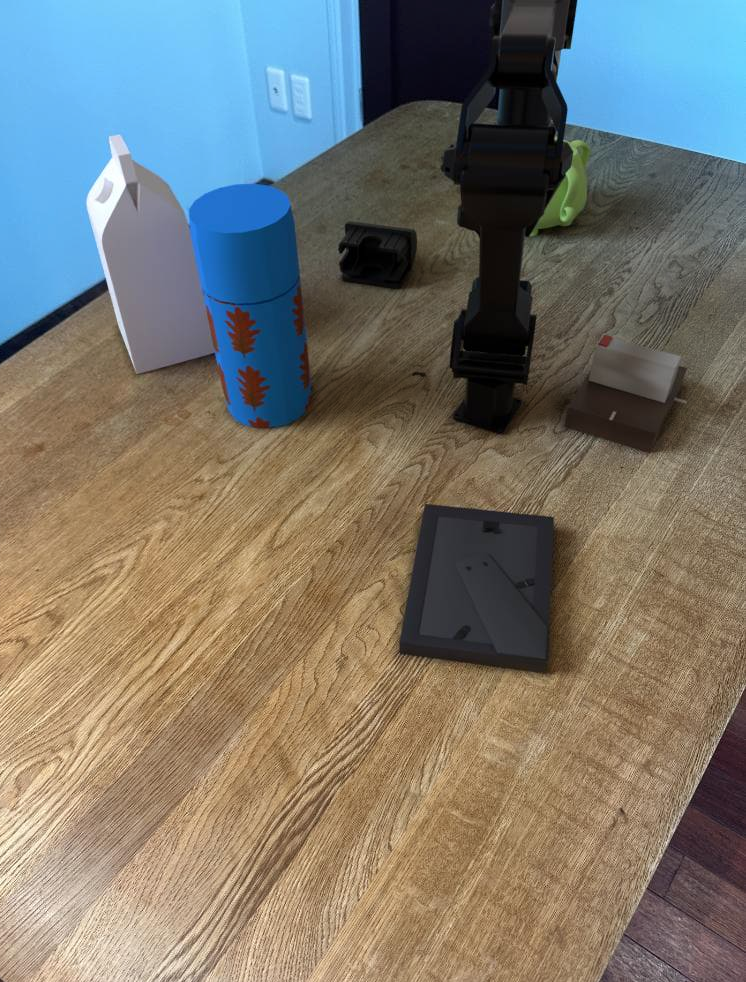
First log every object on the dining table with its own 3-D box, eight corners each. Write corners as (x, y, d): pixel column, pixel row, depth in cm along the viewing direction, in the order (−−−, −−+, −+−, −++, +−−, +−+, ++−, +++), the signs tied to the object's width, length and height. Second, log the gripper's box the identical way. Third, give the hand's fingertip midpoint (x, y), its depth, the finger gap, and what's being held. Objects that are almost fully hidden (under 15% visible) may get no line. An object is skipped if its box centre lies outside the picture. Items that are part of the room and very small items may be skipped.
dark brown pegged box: (663, 457, 91) (670, 436, 88) (550, 423, 96) (554, 402, 93) (694, 391, 98) (701, 369, 96) (588, 362, 103) (592, 341, 101)
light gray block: (670, 392, 93) (682, 354, 90) (664, 403, 92) (676, 365, 88) (594, 370, 97) (603, 333, 93) (588, 380, 96) (596, 343, 92)
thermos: (300, 433, 97) (276, 236, 78) (215, 425, 99) (172, 231, 80) (320, 377, 104) (302, 184, 85) (240, 371, 106) (205, 180, 87)
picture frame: (545, 673, 73) (551, 529, 85) (548, 660, 72) (554, 514, 83) (399, 653, 76) (424, 515, 87) (399, 640, 74) (424, 501, 85)
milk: (220, 351, 109) (181, 154, 89) (136, 374, 106) (77, 177, 87) (197, 306, 116) (156, 115, 97) (118, 327, 114) (60, 135, 95)
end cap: (417, 264, 120) (418, 221, 115) (402, 290, 116) (403, 246, 111) (353, 256, 123) (351, 213, 118) (337, 280, 119) (334, 237, 114)
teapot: (466, 230, 126) (471, 148, 117) (496, 190, 134) (503, 109, 125) (568, 249, 121) (582, 164, 112) (593, 205, 129) (608, 122, 120)
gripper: (492, 75, 94) (482, 205, 106) (415, 140, 84) (414, 274, 96) (584, 90, 90) (563, 223, 102) (514, 160, 80) (500, 298, 92)
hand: (509, 253), depth 98 cm, fingers open, 9 cm apart
